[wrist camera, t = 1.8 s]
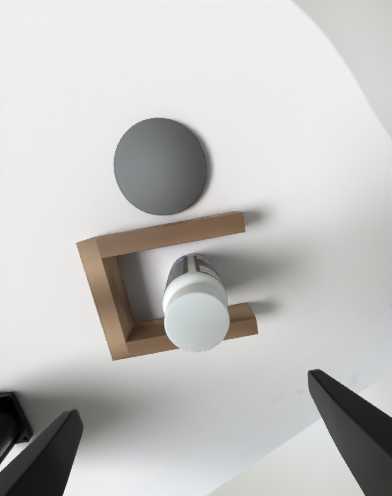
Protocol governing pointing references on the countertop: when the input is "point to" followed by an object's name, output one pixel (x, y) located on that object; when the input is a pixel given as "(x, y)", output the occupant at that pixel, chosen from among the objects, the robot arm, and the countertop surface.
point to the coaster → (160, 166)
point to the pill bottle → (195, 304)
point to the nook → (113, 291)
